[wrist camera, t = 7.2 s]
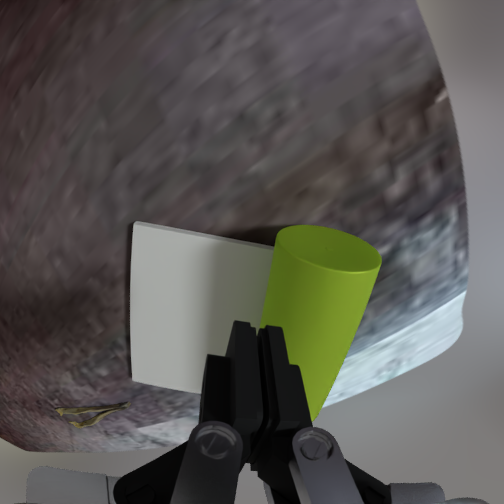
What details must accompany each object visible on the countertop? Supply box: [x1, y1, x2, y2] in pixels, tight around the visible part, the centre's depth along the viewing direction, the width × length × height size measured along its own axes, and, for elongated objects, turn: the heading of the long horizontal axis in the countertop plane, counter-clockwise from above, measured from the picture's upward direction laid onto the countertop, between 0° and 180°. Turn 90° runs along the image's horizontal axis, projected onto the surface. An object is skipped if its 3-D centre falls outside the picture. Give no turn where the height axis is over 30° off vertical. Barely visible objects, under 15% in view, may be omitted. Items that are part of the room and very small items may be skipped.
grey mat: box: [130, 221, 274, 394], centre depth 23 cm, size 15×14×1 cm
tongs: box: [56, 402, 131, 428], centre depth 28 cm, size 4×13×2 cm, turn 122°
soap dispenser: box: [260, 225, 382, 422], centre depth 20 cm, size 6×7×20 cm
